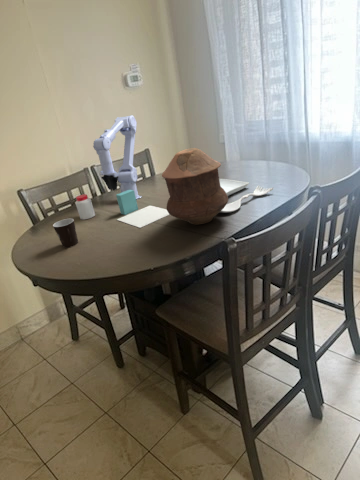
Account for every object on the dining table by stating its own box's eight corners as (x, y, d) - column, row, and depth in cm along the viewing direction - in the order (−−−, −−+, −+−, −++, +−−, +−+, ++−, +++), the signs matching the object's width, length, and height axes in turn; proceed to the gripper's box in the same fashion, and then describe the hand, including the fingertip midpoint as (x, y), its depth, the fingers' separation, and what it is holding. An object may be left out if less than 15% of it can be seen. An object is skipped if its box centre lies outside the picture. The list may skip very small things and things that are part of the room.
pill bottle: (98, 213, 180) (92, 193, 175) (90, 219, 173) (83, 198, 169) (85, 213, 182) (79, 194, 178) (77, 219, 176) (70, 199, 171)
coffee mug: (62, 241, 151) (55, 220, 147) (82, 238, 151) (75, 217, 147) (56, 253, 141) (48, 231, 137) (77, 249, 141) (70, 227, 137)
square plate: (214, 206, 160) (213, 198, 158) (175, 199, 180) (174, 192, 178) (250, 188, 175) (250, 181, 173) (211, 183, 195) (210, 176, 193)
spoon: (274, 193, 162) (274, 186, 160) (227, 217, 145) (226, 210, 144) (259, 191, 169) (258, 184, 167) (212, 214, 152) (211, 206, 150)
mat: (116, 220, 165) (116, 219, 165) (150, 205, 176) (150, 205, 176) (140, 228, 150) (140, 227, 150) (175, 212, 161) (175, 211, 161)
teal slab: (120, 213, 173) (115, 194, 169) (134, 208, 177) (129, 189, 173) (125, 215, 170) (120, 195, 166) (138, 209, 174) (133, 190, 170)
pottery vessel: (241, 222, 137) (233, 146, 125) (180, 240, 132) (165, 162, 120) (216, 205, 160) (207, 139, 148) (163, 219, 155) (149, 152, 143)
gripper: (92, 164, 175) (99, 190, 180) (106, 165, 164) (113, 193, 169) (104, 160, 178) (110, 186, 184) (119, 162, 168) (125, 189, 173)
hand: (112, 189), depth 177 cm, fingers open, 4 cm apart
